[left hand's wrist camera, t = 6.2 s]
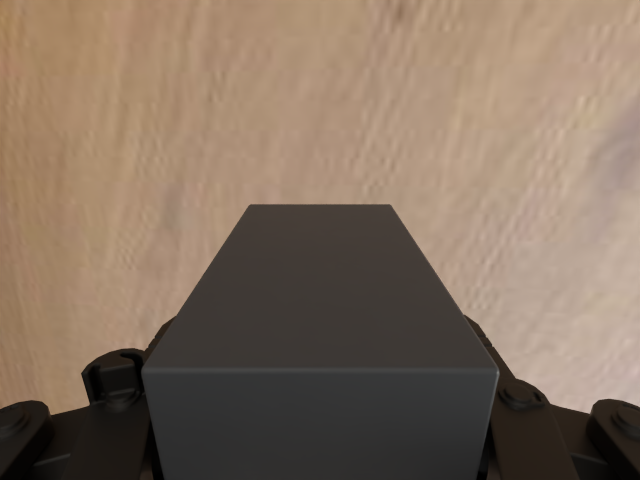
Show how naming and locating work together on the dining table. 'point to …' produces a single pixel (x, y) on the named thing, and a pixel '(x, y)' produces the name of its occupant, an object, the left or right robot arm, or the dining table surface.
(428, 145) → the dining table surface
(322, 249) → the bar
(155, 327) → the dining table surface
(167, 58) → the dining table surface
